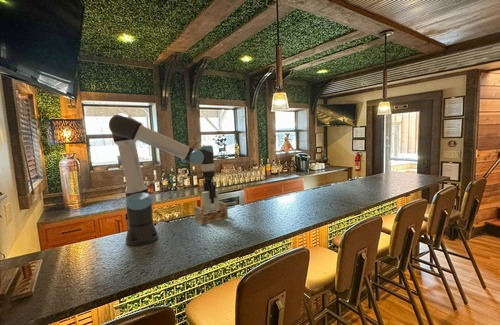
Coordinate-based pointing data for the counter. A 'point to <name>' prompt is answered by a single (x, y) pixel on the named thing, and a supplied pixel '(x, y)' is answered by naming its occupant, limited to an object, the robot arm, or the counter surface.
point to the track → (211, 214)
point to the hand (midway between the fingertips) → (210, 207)
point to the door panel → (207, 203)
